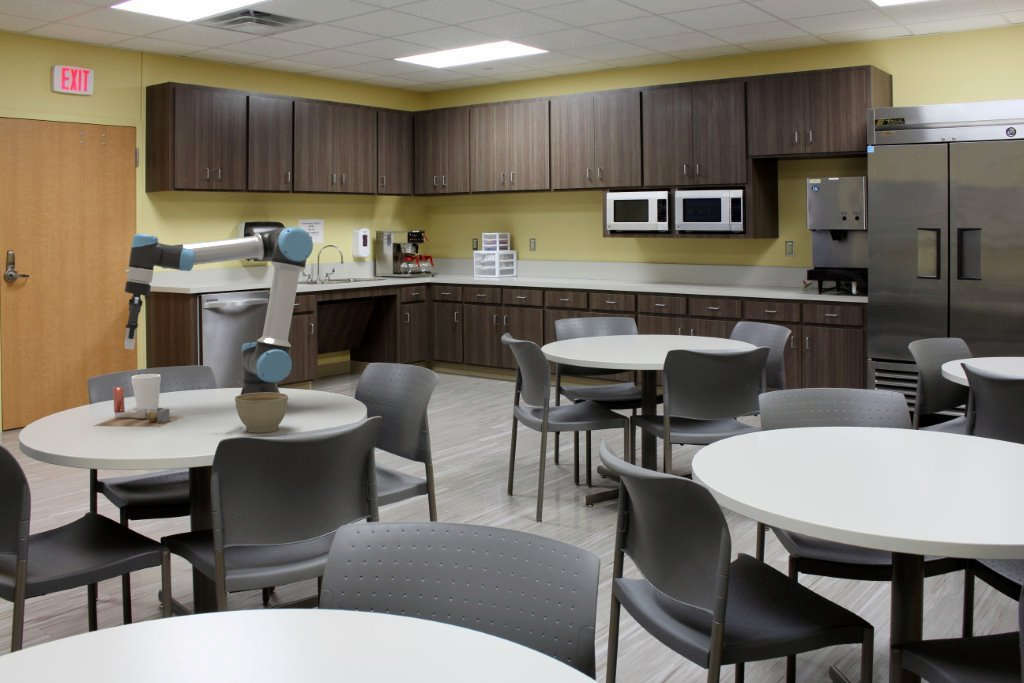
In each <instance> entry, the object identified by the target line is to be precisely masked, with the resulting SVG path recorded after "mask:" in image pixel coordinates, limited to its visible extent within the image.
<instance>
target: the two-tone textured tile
mask: <svg viewBox="0 0 1024 683" xmlns="http://www.w3.org/2000/svg"><path fill="white" fill-rule="evenodd" d="M156 411H157V410H156ZM170 416H171V415H170V409H169V408H163V409H161V410H159V411H157V424H164V423H166V422H169V421H170Z"/></svg>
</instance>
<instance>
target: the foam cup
mask: <svg viewBox="0 0 1024 683" xmlns="http://www.w3.org/2000/svg"><path fill="white" fill-rule="evenodd" d="M161 377H162V376H161V374H159V373H158V374H156V373H146V374H145V373H144V374H135V375H132V376H131V378H130V379H131V385H132V389H133V390H132V391H133V394H134V399H135V400H134V401H135V404H136V409H147V411H157V409H158V408H159V402H160V400H159V399H160V390H161V382H162V378H161Z"/></svg>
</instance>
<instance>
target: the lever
mask: <svg viewBox="0 0 1024 683" xmlns="http://www.w3.org/2000/svg"><path fill="white" fill-rule="evenodd" d="M124 390H125V389H124V387H123V386H118V387H117V386H116V387H115V386H114V387H112V395H113V396H112V397H113V412H114V418H116V417H134V418H147V415H148V413H149V412H151V411H152V410H149V411H147V409H137V408H136V409H135V410H131V411H130V410H125V391H124ZM154 411H155V412H157V410H154Z"/></svg>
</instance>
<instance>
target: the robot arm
mask: <svg viewBox="0 0 1024 683" xmlns="http://www.w3.org/2000/svg"><path fill="white" fill-rule="evenodd" d="M313 249H314V242H313V239H312V237H311V235H310V233H308V231H306V230H305V229H303V228H300V227H297V226H289V227H288V226H286V227H285V226H283V227H278V228H275V229H270V230H266V231H261V232H255V234H254V235H253V236H252V235H251V236H250V235H249V236H244V237H243V236H242V237H235V238H234V237H233V238H225V239H217V240H208V241H198V242H191V243H189V242H188V243H182V244H174V245H171V244H163V243H161V242H159V238H158V236H155V235H152V234H144V233H135V234H134V235H133V238H132V243H131V246H130V253H129V254H130V255H129V261H128V269H126V270H125V273H126V274H127V276H126V279H127V281H126V282H125V288H124V292H125V293H127V294H132V296H131V298H129V300H128V305H129V306H128V312H129V313H128V320H127V324H126V325H125V328H126V330H125V339H124V344H123V346H124V349H127V350H132V351H133V350H134V349H135V344H136V335H137V330H138V329H137V328H138V327H139V323H138V321H139V314H141V309H142V306H143V303H144V300H142V298H141V297H142V296H150V294H151V287H152V286H151V283H153V278H154V277H153V276H154V268H155V267H160V268H161V269H171V270H177V271H182V272H183V271H185V272H190V271H192V270H193V268H194V266H197V265H204V264H214V263H220V262H222V263H223V262H230V261H238V260H239V261H240V260H248V259H255V258H256V259H258V260H260V261H262V260H271V261H270V264H271V265H272V267H273V268H274V271H273V276H272V280H271V281H272V282H271V287H270V293H269V297H268V304H267V310H266V315H265V322H264V325H263V332H262V336H261V337H259V338H258V339H257V340H256V341H255V342H246V343H245V342H244V343H243V344H242V345H241V351H240V352H241V353H240V354H241V365H242V367H241V368H242V388H241V390H240V391H241V392H240V394H239V395H243V394H249V393H263V392H270V393H281V392H280V389H279V387H278V382H279V383H280V382H281V381H283V380H285V379H286V378H287V377H288V376H289V374H291V373H290V372H291V370H292V366H293V365H292V363H293V362H292V358H291V356H290V354H291V348H292V345H291V344H290V342H289V334H290V329H291V324H292V317H293V312H294V306H295V300H296V297H297V296H296V295H297V291H298V290H297V289H298V284H299V278H300V273H301V272H302V271H304V270H305V269H306V265H307V259H308V258H309V257H310V256H311V254H312V252H313Z"/></svg>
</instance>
